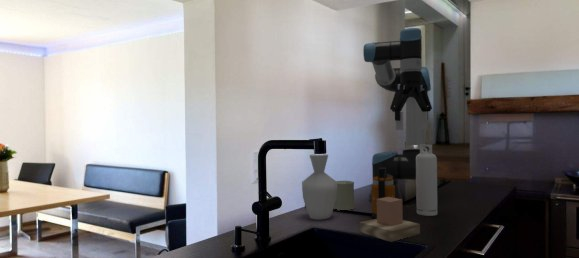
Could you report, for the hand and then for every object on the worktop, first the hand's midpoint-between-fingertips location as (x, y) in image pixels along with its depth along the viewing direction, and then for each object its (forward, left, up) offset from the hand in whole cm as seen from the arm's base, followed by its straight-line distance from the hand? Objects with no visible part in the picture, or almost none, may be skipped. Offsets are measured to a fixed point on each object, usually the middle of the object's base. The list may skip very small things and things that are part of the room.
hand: (412, 129), depth 145 cm
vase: (-29, -21, -35) cm, 50 cm away
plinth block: (+3, -16, -35) cm, 39 cm away
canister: (-12, -3, -35) cm, 37 cm away
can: (-35, -3, -35) cm, 50 cm away
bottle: (-7, +17, -35) cm, 39 cm away
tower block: (+3, -16, -31) cm, 35 cm away
